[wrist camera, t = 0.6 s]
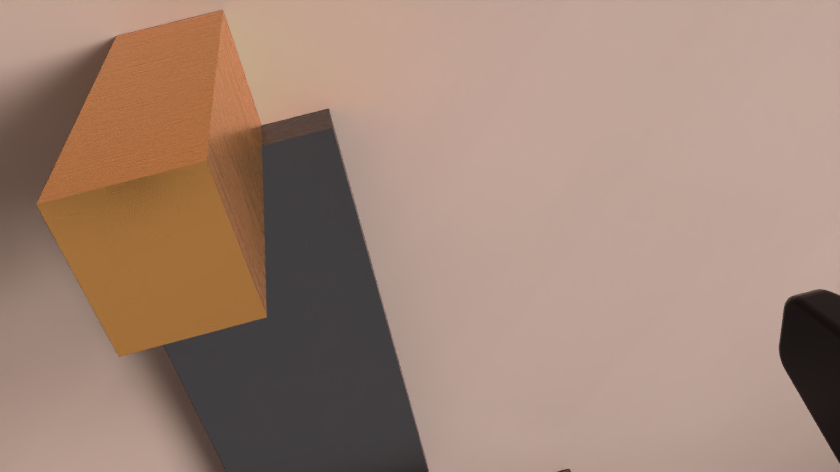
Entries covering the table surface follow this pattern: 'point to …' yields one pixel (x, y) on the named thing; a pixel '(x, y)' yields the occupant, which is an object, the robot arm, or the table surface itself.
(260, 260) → the orange grey l-shaped block
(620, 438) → the table surface
